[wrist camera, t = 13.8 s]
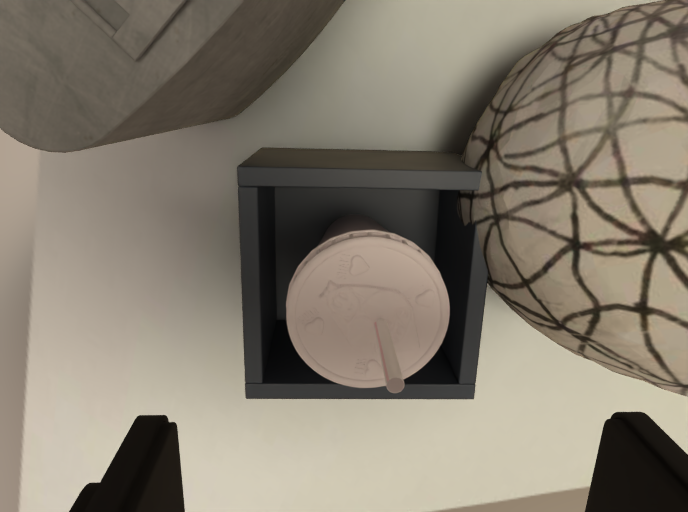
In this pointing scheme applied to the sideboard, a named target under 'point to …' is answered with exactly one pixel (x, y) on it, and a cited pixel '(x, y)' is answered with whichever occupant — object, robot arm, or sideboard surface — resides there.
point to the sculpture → (593, 191)
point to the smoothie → (366, 306)
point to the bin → (309, 228)
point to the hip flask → (142, 64)
